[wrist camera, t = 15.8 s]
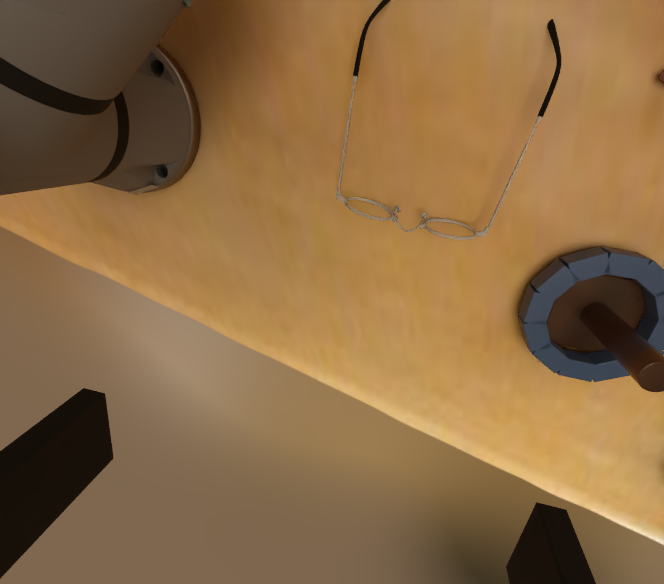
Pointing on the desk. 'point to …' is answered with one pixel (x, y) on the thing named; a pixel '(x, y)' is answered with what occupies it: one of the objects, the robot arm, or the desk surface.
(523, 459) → the desk surface
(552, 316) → the stand
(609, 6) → the desk surface
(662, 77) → the video game controller
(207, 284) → the desk surface
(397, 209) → the eyeglasses
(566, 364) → the dark blue segmented ring
